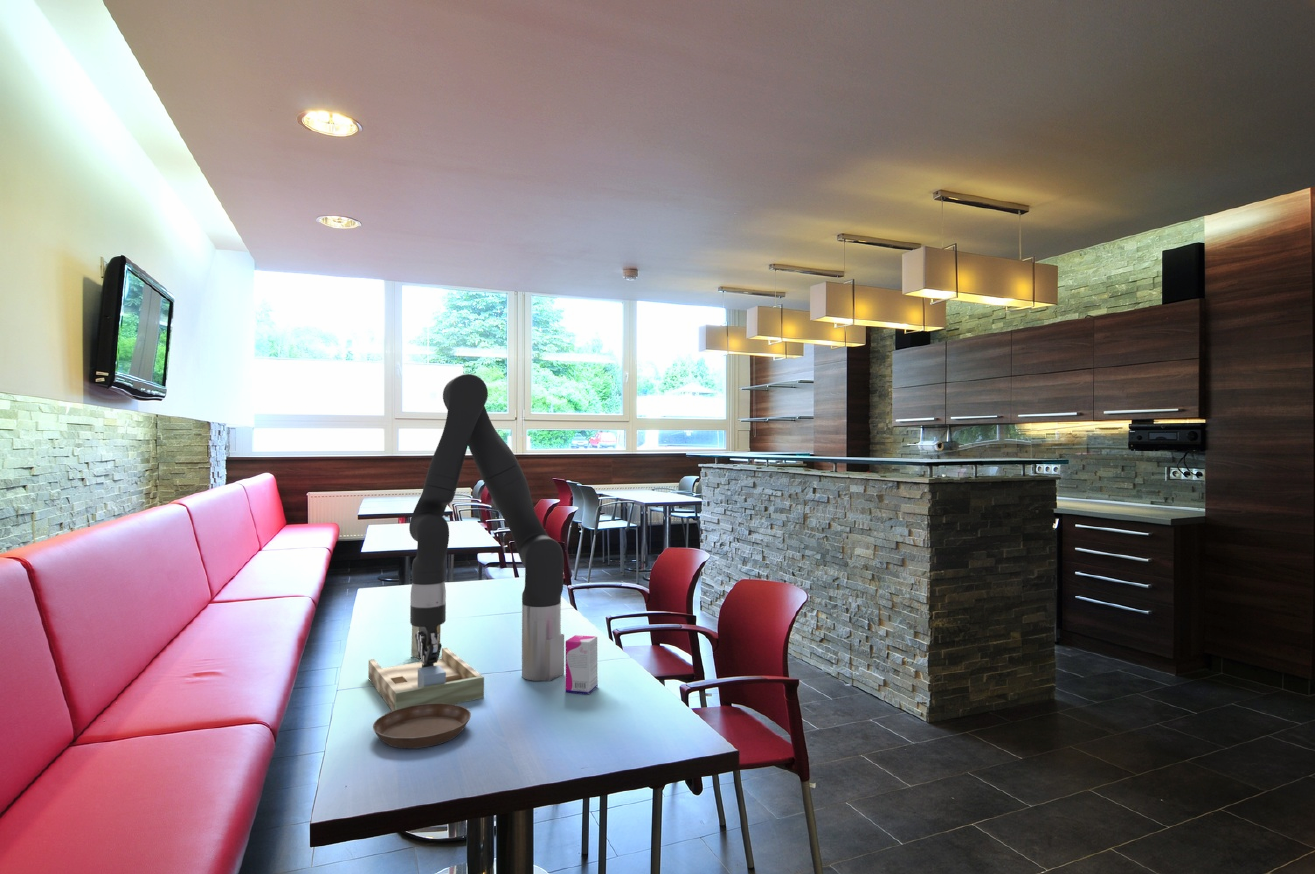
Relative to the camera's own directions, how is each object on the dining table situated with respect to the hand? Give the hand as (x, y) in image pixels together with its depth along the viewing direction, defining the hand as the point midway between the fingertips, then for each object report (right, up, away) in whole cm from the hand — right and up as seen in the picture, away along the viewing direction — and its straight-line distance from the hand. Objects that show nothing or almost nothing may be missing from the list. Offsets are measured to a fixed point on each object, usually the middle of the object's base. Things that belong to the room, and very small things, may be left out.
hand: (427, 680), depth 155 cm
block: (+3, -1, -5) cm, 6 cm away
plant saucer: (+7, -3, -22) cm, 23 cm away
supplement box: (+34, -3, +2) cm, 34 cm away
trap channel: (-2, -3, +3) cm, 5 cm away
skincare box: (-10, -3, +28) cm, 30 cm away
